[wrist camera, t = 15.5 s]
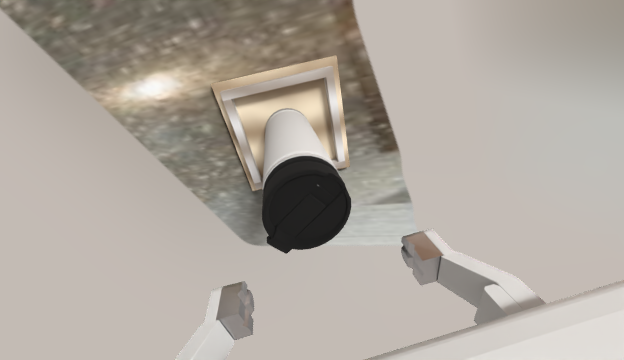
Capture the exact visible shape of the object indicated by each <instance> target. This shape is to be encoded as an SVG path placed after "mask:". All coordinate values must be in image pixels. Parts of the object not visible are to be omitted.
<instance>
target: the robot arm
mask: <svg viewBox="0 0 624 360" xmlns="http://www.w3.org/2000/svg"><path fill="white" fill-rule="evenodd" d="M402 243H403V247H402V250H401V253H402V256H403V259H404V261H405V263H406V264H407V266H408V267H410V268H412V269H413V275H414V277H415V278H416V279H417V281H418V282H419V284H420V285H424V284H428V283H431V282H435V281H437V282H438V283H440V284H441V285H443V286H444V287H446V288H447V289H449V290H450V291H452V292H454V293H455V294H457V295H458V296H460V297H461V298H463V299H465V300H466V301H467V302H469V303H470V304H472V305H474V306H475V307H477V308H478V309H477V312H476V315H475V318H474V321H475V322H476V324H477V325H476V326H473V327H469V328H466V329H463V330H459V331H456V332H453V333H450V334H446V335H443V336H440V337H437V338H434V339H430V340H427V341H424V342H420V343H417V344H414V345H410V346H408V347H404V348H401V349H397V350H394V351H391V352H388V353H384V354H381V355H378V356H375V357H371V358H368V359H365V360H624V280H622V281H619V282H616V283H613V284H609V285H606V286H603V287H599V288H597V289H593V290H590V291H586V292H583V293H580V294H577V295H573V296H570V297H567V298H564V299H561V300H557V301H554V302H551V303H547V304H546V303H545V302H544V301H543V300H542V299H541V298H540V297H539V296H537V295H536V294H535V293H534V292H533V291H532V290H531V289H529V288H528V287H527V286H526V285H525V284H524V283H523V282H522V281H521V280H519V279H518V278H517V277H516V276H514V275H511V274H509V273H506V272H504V271H502V270H500V269H497V268H495V267H493V266H490V265H488V264H485V263H483V262H481V261H478V260H476V259H474V258H471V257H469V256H467V255H464V254H462V253H460V252H454V251H453V250H452V249H451V248H450V247H449V246H448V245H447V244H446V243H445V242H444V241H443V240H442V239H441V238H440V237H439V235H438V234H437V233H436V232H435V231H434V230H432V229H428V230H425V231H421V232H417V233H413V234H410V235H407V236H403V237H402ZM253 311H254V300H253V296H252V293H251V291H250V290H247V284H246V283H245V281H243V282H239V283H236V284H232V285H227V286H223V287H220V288H216V289H213V290H212V292H211V295H210V299H209V303H208V307H207V312H206V316H205V321H204V324H203V325H200V326H199V328H198V329H197V330H196V332H195V333H194V334H193V336H192V337H191V338H190V340H189V341H188V342H187V344H186V345H185V346H184V348H183V349H182V351H181V352H180V354H178V356H177V357H176V358H175V360H226V358H227V356H228V354H229V352H230V350H231V348H232V346H233V344H234V342H235V341H234V340H237V339H240V338H243V337H246V336H250V335H252V334H253V319H252V317H251V314H252V312H253Z"/></svg>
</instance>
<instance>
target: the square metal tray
mask: <svg viewBox="0 0 624 360" xmlns="http://www.w3.org/2000/svg"><path fill="white" fill-rule="evenodd" d="M211 86H212V89H213V91H214V94H215V96H216V99H217V101H218V104H219V106H220V109H221V112H222V114H223V117H224V119H225V122H226V124H227V127H228V129H229V132H230V134H231V137H232V140H233V142H234V145H235V147H236V150H237V152H238V155H239V157H240V160H241V163H242V165H243V168H244V170H245V173H246V175H247V178H248V180H249V183H250V185H251V188H252V191H255V190H259V189H263V169H264V148H265V128H266V123H267V121H268V119H269V117H270V116H271V115H272V114H273V113H274V112H276V111H278V110H280V109H284V108H292V109H295V110H298V111H300V112H301V113H302V114H303V115H304V116H305V117H306V118H307V120H308V122H309V123H310V125H311V127H312V128H313V130H314V132H315V133H316V135H317V137H318V138H319V140H320V142H321V143H322V145H323V147H324V148H325V150H326V152H327V153H328V155H329V157H330V159H331V160H332V162H333V164H334V165H335V167H336V169H337V170H338V169H342V168H346V167H350V164H349V156H348V147H347V139H346V131H345V122H344V114H343V106H342V98H341V89H340V81H339V73H338V64H337V56H331V57H326V58H322V59H318V60H313V61H309V62H304V63H300V64H296V65H291V66H287V67H282V68H278V69H274V70H269V71H265V72H260V73H256V74H252V75H247V76H243V77H239V78H234V79H230V80H225V81H221V82H217V83H212V84H211Z"/></svg>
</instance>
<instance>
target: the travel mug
mask: <svg viewBox="0 0 624 360" xmlns="http://www.w3.org/2000/svg"><path fill="white" fill-rule="evenodd" d="M350 210H351V198H350V196H349V194H348V191H347V189H346V187H345V184H344V182H343V180H342V179H341V176H340V174H339V172H338V170H337V169H336V167H335V165H334V164H333V162H332V160H331V159H330V157H329V155H328V153H327V152H326V150H325V148H324V147H323V145H322V143H321V142H320V140H319V138H318V137H317V135H316V133H315V132H314V130H313V128H312V127H311V125H310V123H309V122H308V120H307V118H306V117H305V116H304V115H303V114H302V113H301V112H300V111H298V110H295V109H292V108H284V109H280V110H278V111H276V112H274V113H273V114H272V115H271V116H270V117H269V119H268V121H267V123H266V128H265V148H264V169H263V208H262V220H263V224H264V228H265V230H266V232H267V233H268V235H269V236H270V237H269V236H268V237H267V243H268V244H270V245H271V246H273V247H274V248H277V249H278V250H280V251H282V252H284V253H288V252H289V251H290V250H291V249H298V250H303V249H311V248H314V247H318V246H320V245H322V244H325V243H326V242H328V241H329V240H331V239H332V238H334V237H335V236H336V235H337V234H338V233H339V232H340V231H341V229H342V228H343V227H344V225H345V224H346V222H347V220H348V217H349V215H350Z"/></svg>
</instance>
